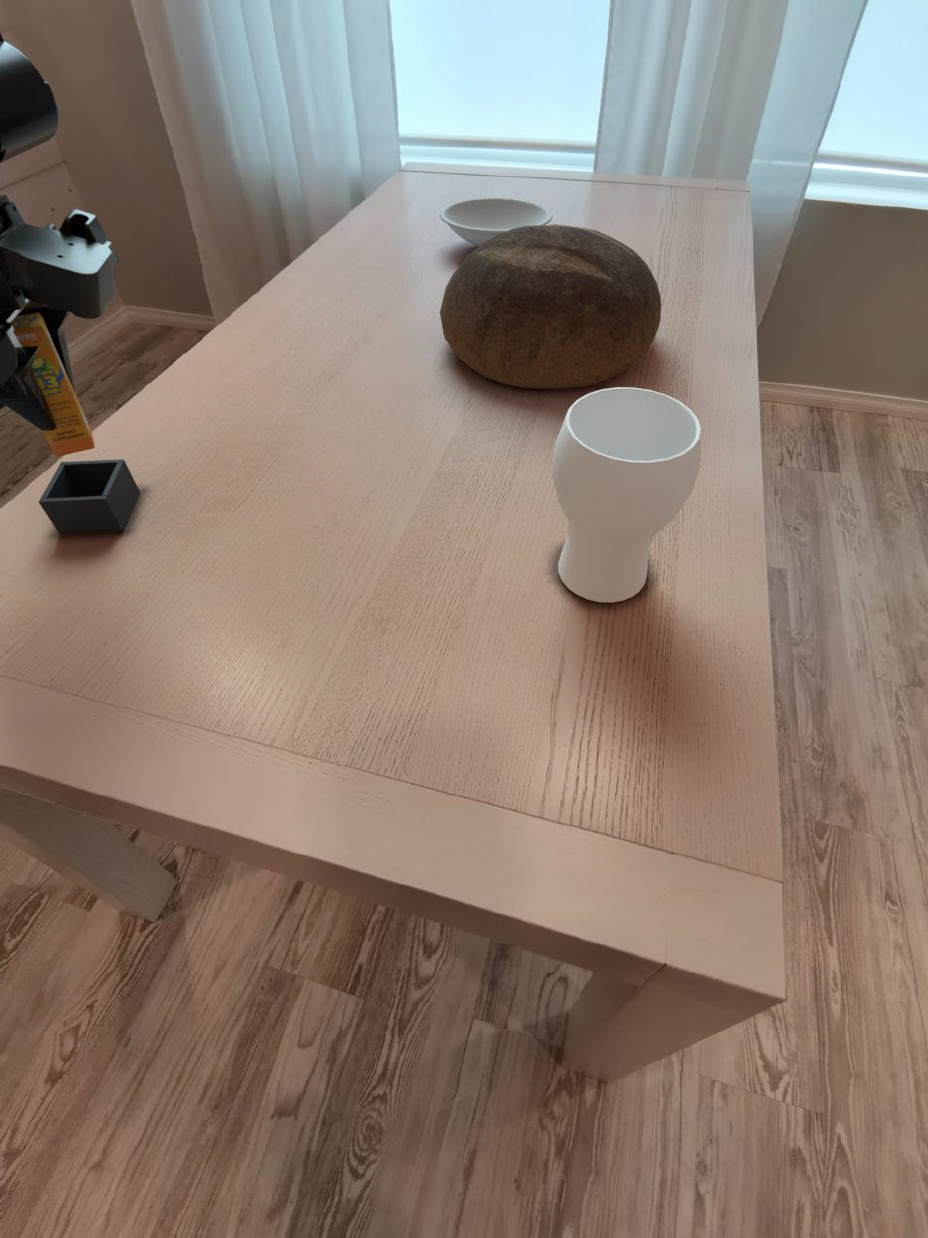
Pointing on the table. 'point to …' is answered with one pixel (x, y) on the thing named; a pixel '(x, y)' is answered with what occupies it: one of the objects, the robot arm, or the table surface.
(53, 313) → the robot arm
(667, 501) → the cup
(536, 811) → the table surface
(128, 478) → the trash bin
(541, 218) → the dish
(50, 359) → the supplement box
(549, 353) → the bread
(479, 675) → the table surface
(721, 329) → the table surface
